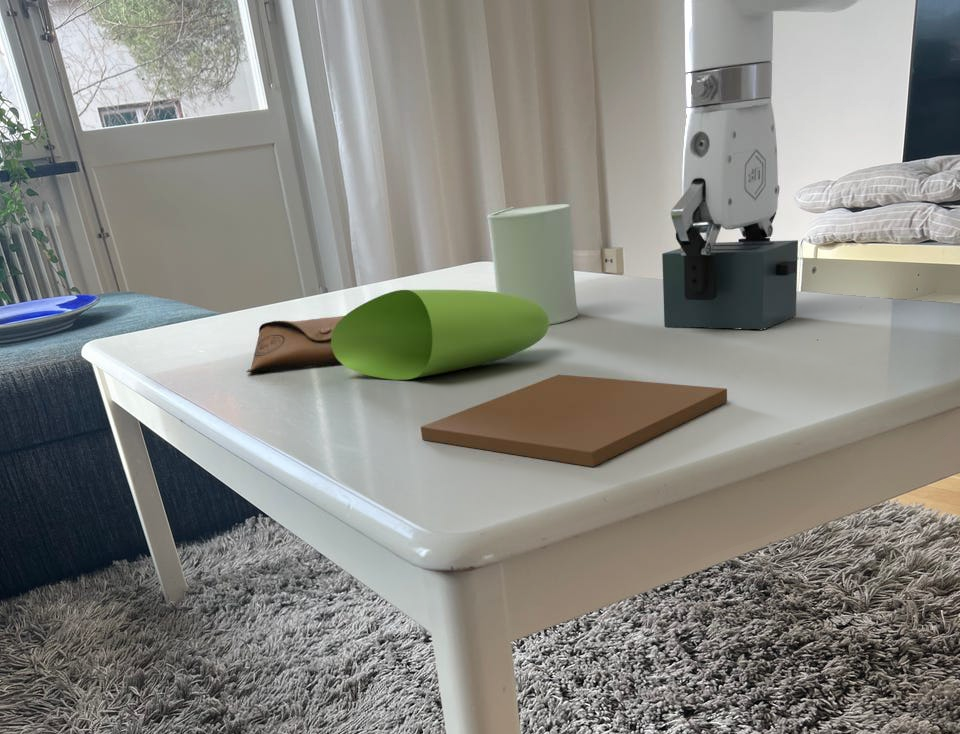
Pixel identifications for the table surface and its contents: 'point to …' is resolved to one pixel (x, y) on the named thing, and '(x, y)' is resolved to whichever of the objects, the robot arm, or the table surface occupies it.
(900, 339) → the table surface
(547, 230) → the can
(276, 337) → the sunglasses case
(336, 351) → the green curved sheet
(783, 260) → the toaster
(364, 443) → the table surface
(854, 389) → the table surface
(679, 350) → the table surface
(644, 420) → the mat
